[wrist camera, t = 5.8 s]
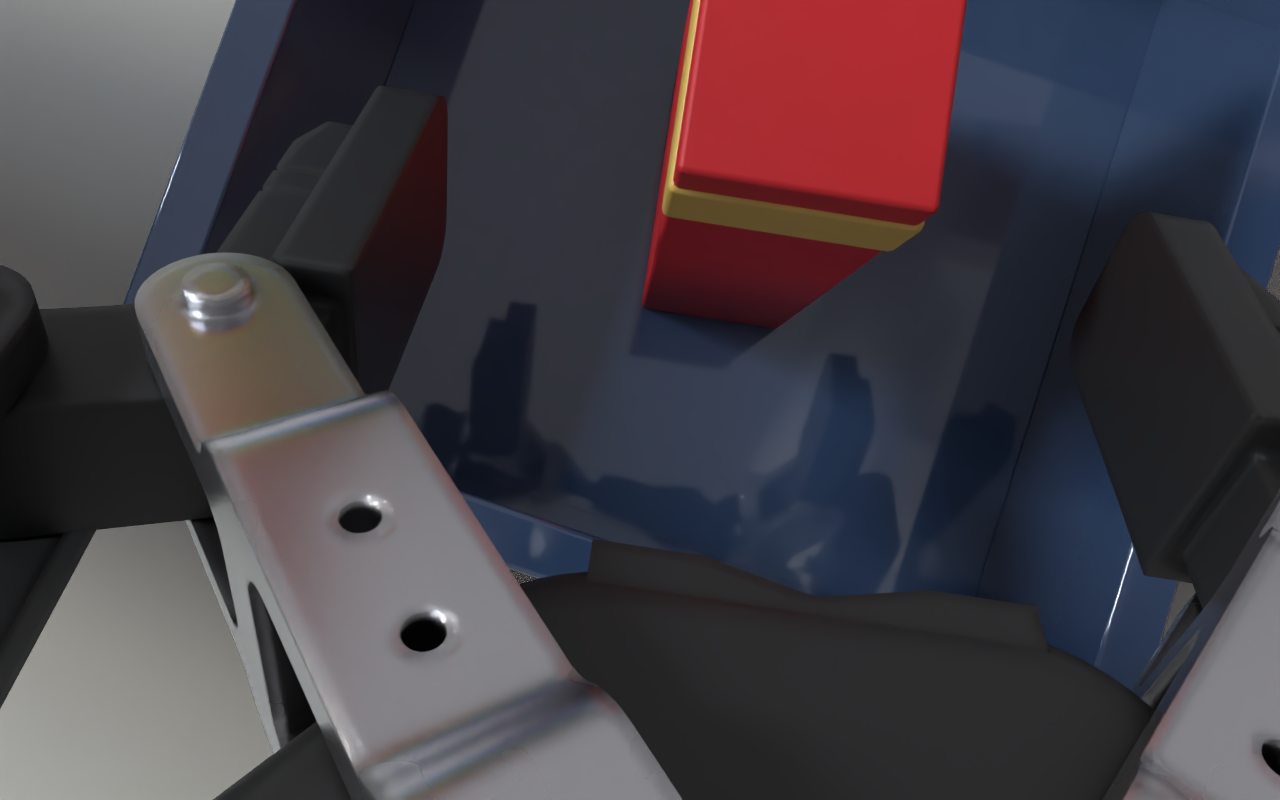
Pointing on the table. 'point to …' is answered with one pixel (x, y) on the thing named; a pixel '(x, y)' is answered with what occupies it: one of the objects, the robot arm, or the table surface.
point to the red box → (798, 149)
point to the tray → (813, 338)
